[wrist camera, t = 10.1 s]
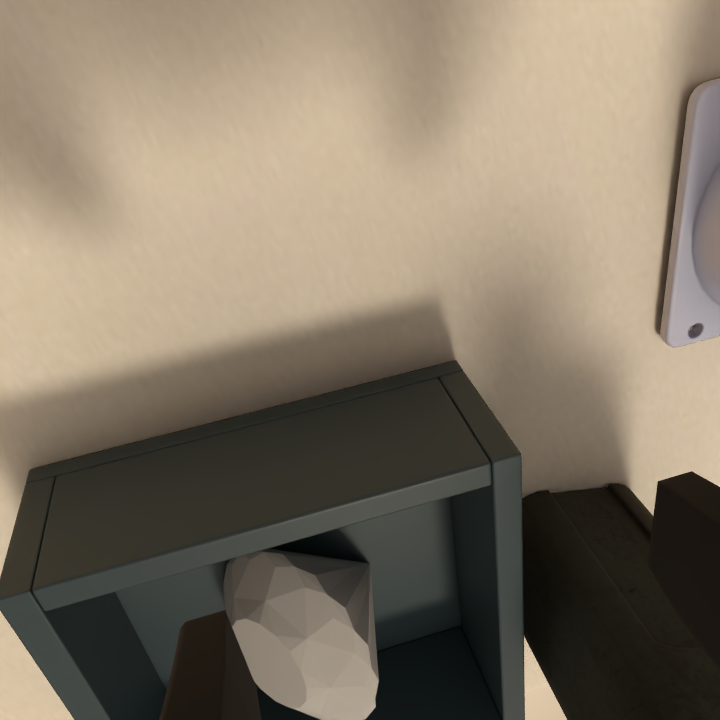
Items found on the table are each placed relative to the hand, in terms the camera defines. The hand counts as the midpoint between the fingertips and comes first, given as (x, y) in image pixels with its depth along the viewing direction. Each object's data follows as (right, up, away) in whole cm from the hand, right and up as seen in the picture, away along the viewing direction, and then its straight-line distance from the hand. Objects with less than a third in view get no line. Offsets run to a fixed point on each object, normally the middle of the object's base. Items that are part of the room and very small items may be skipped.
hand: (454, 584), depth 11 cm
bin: (-4, -3, +12) cm, 13 cm away
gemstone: (-4, -3, +12) cm, 13 cm away
